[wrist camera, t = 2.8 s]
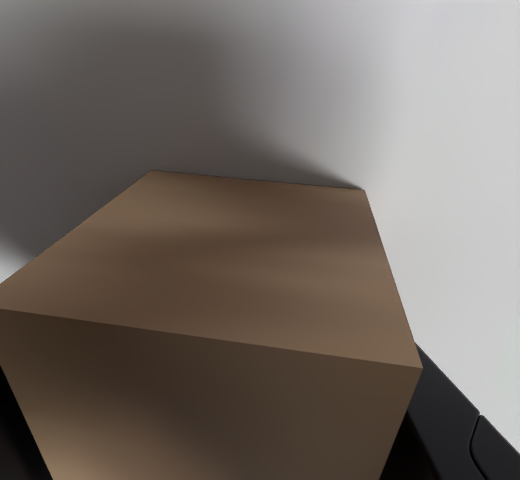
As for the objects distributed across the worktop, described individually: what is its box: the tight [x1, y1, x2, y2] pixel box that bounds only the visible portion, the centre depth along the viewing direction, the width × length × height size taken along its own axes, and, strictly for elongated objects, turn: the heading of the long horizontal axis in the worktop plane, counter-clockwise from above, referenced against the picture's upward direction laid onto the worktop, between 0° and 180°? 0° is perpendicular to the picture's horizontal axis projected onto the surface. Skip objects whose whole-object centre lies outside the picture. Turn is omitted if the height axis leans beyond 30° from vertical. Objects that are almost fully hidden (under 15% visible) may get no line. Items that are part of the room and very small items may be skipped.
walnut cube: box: [0, 170, 423, 480], centre depth 7 cm, size 5×5×5 cm
